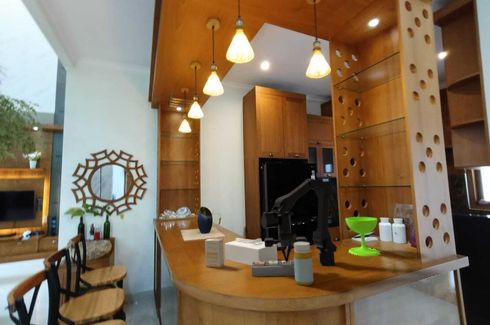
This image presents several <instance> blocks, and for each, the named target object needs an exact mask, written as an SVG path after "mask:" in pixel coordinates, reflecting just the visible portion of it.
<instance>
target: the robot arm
mask: <svg viewBox="0 0 490 325" xmlns="http://www.w3.org/2000/svg"><path fill="white" fill-rule="evenodd" d="M311 189H312V190H315V194H316V197H317V198H318V204H317V205H318V207H317V208H318V210H317V226H316V227H317V228H316V230H315V231H312V238H311V239H312V241H313V242H312V243H313V244H314V246H315V248H316V249H317V250H318V251H319V252H318V254H317V255H318V262H319V264H320V265H321V266H323V267H324V266H326V267H327V266H336V265H337V263H336V261H335V253H336V252H337V250H338V247H337V246H336V245H335V243H334V242H333V241H332V234H331V233H330V231H329V212H330V209H329V208H330V198H331V197H332V195H333V191H334V185H333V183H332V182H331V181H329V180H318V179H315V178H307V179H305V180H304V181H303V182H302V183H301V184H299V185H298V186H297V187H296V188H294V189H293V190H291V192H289V193H287V194H285V195H282V196H280V197H278V198H276V200H275V201H274V205H273V206H272V208H271V210H270V212H265V211H264V212H262V216H261V219H260V221H261V222H260V223H261V226H262V228H263V229H271V228H277V231H278V232H277V234H278V239H274V238H273V237H266V238H264V242H265V247H272V246H273V244H277V249H280V250H281V253H282V256H283V258H284V261H286V262H288V260H289V259H290V254H291V251H292V249H294V243H295V242H308V239H307V238H306V237H305V236H297V234H296V233H292V226H291V224H292V223H291V216H294V215H295V213H294V212H293V211H291V209H292V207H294V205H295V203H296V202H297V201H298V200H299V199H300V198H302V197H303V196H304V195H305V194H306V193H307V192H309V191H310V190H311ZM285 247H286V248H285Z"/></svg>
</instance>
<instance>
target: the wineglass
mask: <svg viewBox="0 0 490 325" xmlns="http://www.w3.org/2000/svg"><path fill="white" fill-rule="evenodd" d="M344 219H345V223H346V225H347V227H348V228H349V229H350V230H351V231H353V232H354V233H356V234H360V242H361V246H358V247H352V248H350V249H349V250H348V253H349V254H350V253H351V254H350V255H353V254H354V255H353V256H357V255H358V256H357V257H367V258H368V257H378V256H380V255H382V252H381V251H380V250H379V249H377V250H376V248H373V249H371V248H372V247H367V246H366V238H365V237H366V236H365V235H366V234H370V233H371V232H373V231H374V230H375V228H376V227H377V224H378V218H377V217H368V216H354V217H346V218H344ZM378 250H379V251H378ZM380 252H381V253H380Z"/></svg>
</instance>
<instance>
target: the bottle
mask: <svg viewBox="0 0 490 325" xmlns="http://www.w3.org/2000/svg"><path fill="white" fill-rule="evenodd" d="M293 251H294V253H293V261H294V270H295V275H294V280H295V282H296V284H298V285H299V286H305V287H306V286H311V285H312V284H313V283H314V270H313V269H314V268H313V258H312V252H311V246H310V242H308V241H307V242H295V243H294V248H293Z"/></svg>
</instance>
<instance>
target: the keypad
mask: <svg viewBox="0 0 490 325" xmlns="http://www.w3.org/2000/svg"><path fill="white" fill-rule="evenodd" d="M277 261H278V266H269V261H264V265H265V266H255V262H253V263H252V266H251V277H268V276H269V277H279V276H282V277H283V276H295V270H294V260H290V261H291V263H292V265H282V261H283V260H277Z"/></svg>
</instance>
